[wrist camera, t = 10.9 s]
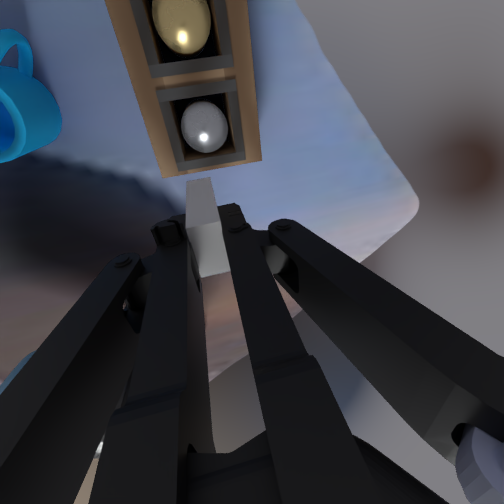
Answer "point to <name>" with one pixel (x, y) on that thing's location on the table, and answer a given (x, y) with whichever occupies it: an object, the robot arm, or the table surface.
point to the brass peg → (182, 25)
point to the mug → (24, 103)
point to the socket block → (191, 84)
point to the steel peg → (204, 125)
